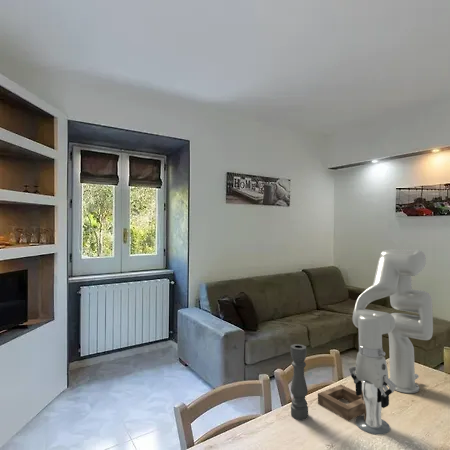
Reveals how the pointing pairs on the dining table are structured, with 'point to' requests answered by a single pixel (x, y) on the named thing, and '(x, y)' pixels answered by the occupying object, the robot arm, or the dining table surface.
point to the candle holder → (299, 383)
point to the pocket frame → (346, 411)
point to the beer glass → (371, 405)
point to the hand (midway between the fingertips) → (371, 400)
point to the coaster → (382, 430)
